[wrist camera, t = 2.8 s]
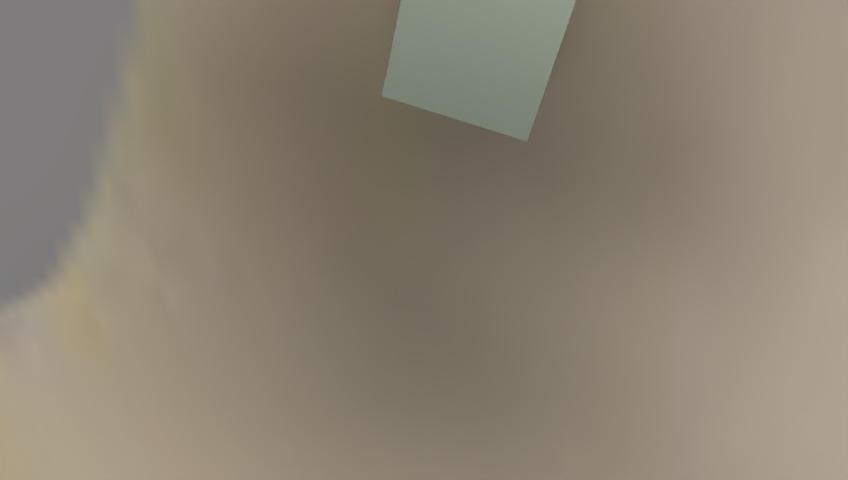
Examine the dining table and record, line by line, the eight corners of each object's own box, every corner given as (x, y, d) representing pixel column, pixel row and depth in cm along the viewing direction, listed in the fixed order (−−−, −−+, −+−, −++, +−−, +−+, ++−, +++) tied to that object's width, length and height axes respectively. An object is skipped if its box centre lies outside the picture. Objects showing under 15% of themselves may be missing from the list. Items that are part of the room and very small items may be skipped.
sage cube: (588, -52, 23) (578, -7, 20) (543, 80, 26) (526, 141, 22) (447, -94, 24) (412, -57, 20) (416, 42, 26) (381, 95, 23)
